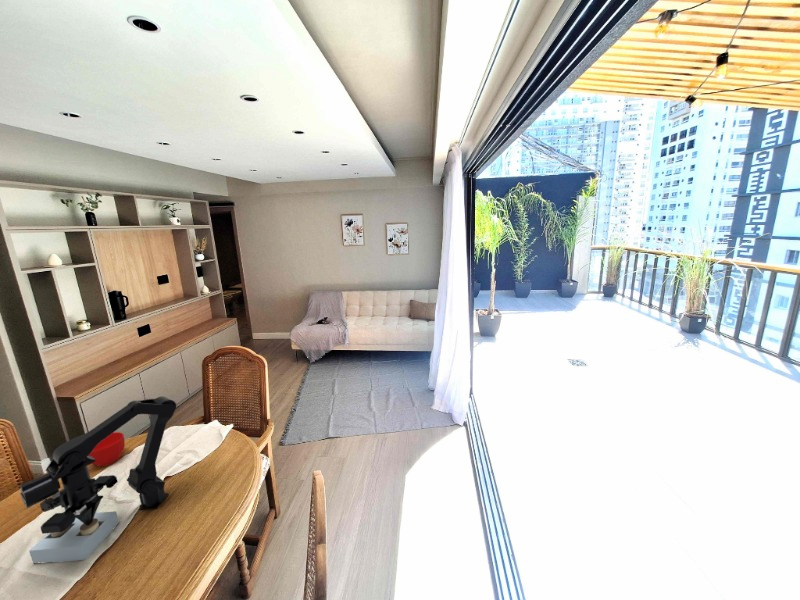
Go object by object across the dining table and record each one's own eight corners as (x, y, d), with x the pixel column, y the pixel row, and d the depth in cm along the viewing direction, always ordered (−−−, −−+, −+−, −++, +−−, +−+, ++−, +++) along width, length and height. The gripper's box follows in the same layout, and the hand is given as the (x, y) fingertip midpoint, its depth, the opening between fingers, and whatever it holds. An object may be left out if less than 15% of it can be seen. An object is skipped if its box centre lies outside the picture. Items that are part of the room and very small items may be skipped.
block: (119, 523, 103) (116, 511, 102) (85, 559, 92) (81, 546, 91) (73, 527, 103) (69, 514, 102) (33, 564, 91) (28, 550, 90)
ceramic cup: (68, 475, 126) (62, 454, 124) (116, 449, 142) (111, 430, 140) (88, 482, 122) (82, 460, 120) (135, 453, 138) (130, 434, 136)
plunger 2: (104, 528, 99) (101, 517, 98) (92, 540, 95) (89, 529, 94) (91, 529, 99) (88, 518, 98) (79, 541, 95) (76, 530, 94)
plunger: (73, 526, 98) (70, 515, 97) (61, 538, 94) (57, 527, 93) (60, 527, 98) (57, 516, 97) (47, 539, 94) (44, 528, 93)
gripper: (79, 462, 102) (90, 501, 105) (13, 510, 83) (28, 556, 87) (113, 459, 102) (123, 498, 105) (55, 507, 84) (69, 552, 87)
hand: (89, 523), depth 96 cm, fingers closed, pressing on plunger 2
